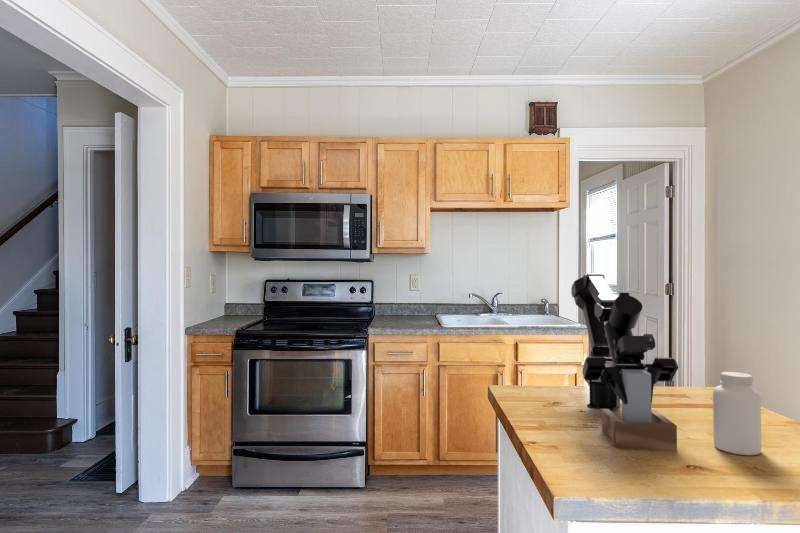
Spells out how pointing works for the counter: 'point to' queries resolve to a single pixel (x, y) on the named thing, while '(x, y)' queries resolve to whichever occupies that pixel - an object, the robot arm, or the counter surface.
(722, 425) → the pill bottle
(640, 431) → the brown wooden tray
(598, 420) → the counter surface
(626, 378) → the block
